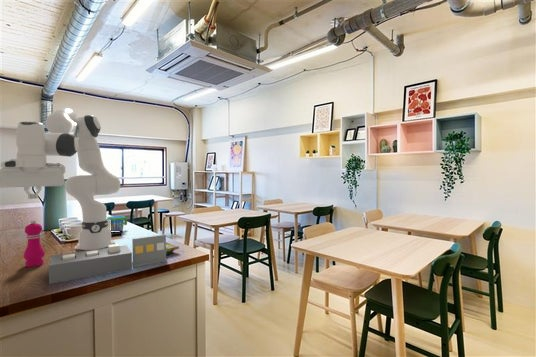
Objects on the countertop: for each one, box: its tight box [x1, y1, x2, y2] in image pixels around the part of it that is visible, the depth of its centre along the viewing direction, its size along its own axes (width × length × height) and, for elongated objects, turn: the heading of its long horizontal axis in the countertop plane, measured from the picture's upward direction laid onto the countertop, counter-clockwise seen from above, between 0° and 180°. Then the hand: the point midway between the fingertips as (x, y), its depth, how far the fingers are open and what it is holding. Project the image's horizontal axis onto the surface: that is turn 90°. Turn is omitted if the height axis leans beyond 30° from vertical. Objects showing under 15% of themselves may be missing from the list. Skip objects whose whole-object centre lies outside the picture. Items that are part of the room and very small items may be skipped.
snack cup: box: [107, 215, 128, 232], centre depth 188 cm, size 16×10×10 cm
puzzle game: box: [166, 241, 180, 255], centre depth 144 cm, size 12×5×20 cm
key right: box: [107, 243, 121, 253], centre depth 122 cm, size 4×4×4 cm
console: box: [48, 244, 133, 285], centre depth 118 cm, size 14×28×7 cm, turn 124°
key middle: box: [86, 249, 98, 256], centre depth 118 cm, size 4×4×4 cm
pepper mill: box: [23, 219, 46, 268], centre depth 125 cm, size 7×7×20 cm
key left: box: [63, 254, 75, 260], centre depth 113 cm, size 4×4×4 cm
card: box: [132, 234, 168, 268], centre depth 128 cm, size 5×14×12 cm, turn 124°
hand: (33, 198), depth 110 cm, fingers closed
